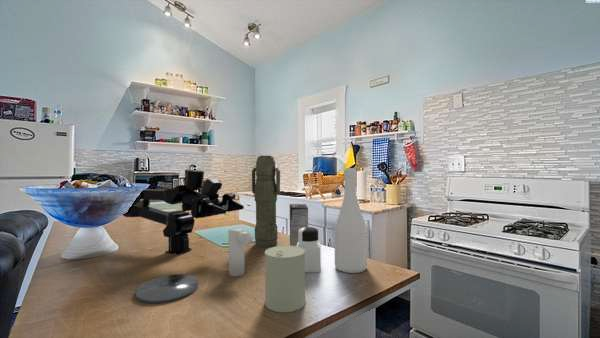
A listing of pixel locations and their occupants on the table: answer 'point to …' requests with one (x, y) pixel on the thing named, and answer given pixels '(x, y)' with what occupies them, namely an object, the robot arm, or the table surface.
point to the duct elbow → (237, 250)
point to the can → (285, 278)
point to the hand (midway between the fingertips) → (235, 209)
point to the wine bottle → (350, 230)
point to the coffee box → (297, 221)
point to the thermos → (266, 201)
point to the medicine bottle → (310, 248)
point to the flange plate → (167, 288)
